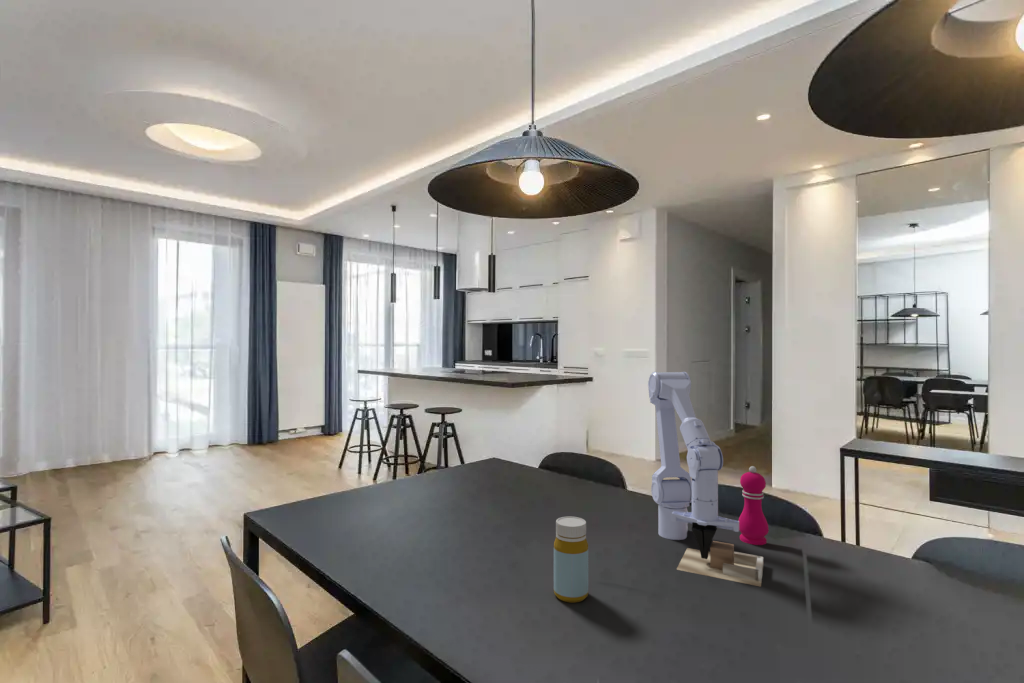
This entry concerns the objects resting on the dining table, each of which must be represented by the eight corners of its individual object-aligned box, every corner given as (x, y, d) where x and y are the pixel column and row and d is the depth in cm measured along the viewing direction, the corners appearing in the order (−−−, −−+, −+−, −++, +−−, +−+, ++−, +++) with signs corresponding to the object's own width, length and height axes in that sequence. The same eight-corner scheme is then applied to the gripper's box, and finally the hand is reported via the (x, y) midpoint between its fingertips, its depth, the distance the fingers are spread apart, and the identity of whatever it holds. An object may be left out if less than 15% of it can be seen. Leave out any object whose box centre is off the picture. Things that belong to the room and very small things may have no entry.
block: (712, 560, 119) (713, 540, 119) (733, 564, 117) (733, 544, 117) (710, 567, 115) (710, 547, 115) (731, 571, 113) (732, 551, 113)
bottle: (584, 586, 108) (584, 515, 108) (591, 603, 101) (591, 527, 101) (551, 587, 107) (552, 515, 108) (555, 604, 100) (556, 527, 101)
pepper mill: (772, 550, 127) (772, 470, 127) (741, 548, 129) (741, 468, 129) (764, 540, 134) (763, 463, 134) (734, 537, 136) (734, 462, 136)
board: (687, 551, 126) (687, 539, 126) (763, 566, 118) (763, 553, 118) (676, 573, 114) (676, 560, 114) (760, 591, 106) (760, 576, 106)
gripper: (668, 497, 118) (669, 557, 118) (737, 507, 111) (737, 570, 111) (674, 490, 124) (675, 546, 124) (740, 499, 117) (740, 558, 117)
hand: (704, 557), depth 118 cm, fingers closed
